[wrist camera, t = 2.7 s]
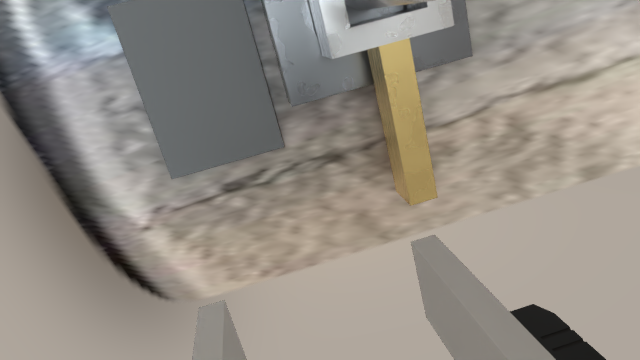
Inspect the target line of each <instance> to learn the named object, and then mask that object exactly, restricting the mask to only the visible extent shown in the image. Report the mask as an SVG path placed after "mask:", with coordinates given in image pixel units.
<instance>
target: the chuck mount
mask: <svg viewBox="0 0 640 360" xmlns="http://www.w3.org/2000/svg"><path fill="white" fill-rule="evenodd" d="M261 3H262V6H263V10H264V14H265V17H266V21H267V25H268V28H269V32H270V36H271V39H272V43H273V47H274V50H275V54H276V58H277V61H278V65H279V69H280V72H281V76H282V80H283V83H284V87H285V91H286V95H287V98H288V102H289V103H290V104H291V106H296V105H299V104H303V103H307V102H310V101H314V100H317V99H321V98H324V97H328V96H332V95H335V94H339V93H342V92H346V91H349V90H353V89H357V88H360V87H364V86H367V85H371V84H374V81H373V77H372V72H371V67H370V62H369V57H368V53H367V50H364V51H360V52H356V53H353V54H349V55H345V56H342V57H338V58H335V59H331V58H328V57H324V56H322V53H321V49H320V45H319V41H318V37H317V33H316V28H315V24H314V20H313V16H312V12H311V8H310V3H309V0H261ZM345 5H346V10H347V14H348V19H349V24H350V25H351V24H354V23H358V22H362V21H366V20H369V19H373V18H377V17H380V16H384V15H388V14H392V13H395V12H399V11H403V10H407V5H399V6H392V7H384V8H377V9H370V10H358V9H354V8H352V7H350V6H349V5H347V4H346V3H345ZM451 6H452V13H453V20H454V26H451V27H448V28H444V29H440V30H437V31H433V32H429V33H426V34H422V35H418V36H415V37H411V38H409V39H410V45H411V50H412V56H413V62H414V67H415V72H417V71H421V70H424V69H428V68H431V67H435V66H439V65H442V64H446V63H449V62H453V61H456V60H460V59H464V58H467V57H471V56H473V55H472V48H471V40H470V33H469V26H468V18H467V11H466V3H465V0H451Z"/></svg>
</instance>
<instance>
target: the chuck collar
mask: <svg viewBox="0 0 640 360" xmlns="http://www.w3.org/2000/svg"><path fill="white" fill-rule="evenodd" d="M309 3H310V8H311V12H312V16H313V20H314V24H315V28H316V33H317V37H318V41H319V45H320V49H321V53H322V56H324V57H328V58H331V59H335V58H338V57H342V56H345V55H349V54H353V53H356V52H360V51H364V50H367V53H368V57H369V62H370V67H371V72H372V77H373V81H374V86H375V91H376V96H377V101H378V106H379V110H380V115H381V120H382V125H383V130H384V134H385V139H386V144H387V149H388V154H389V158H390V163H391V168H392V173H393V178H394V182H395V187H396V191H397V192H398V193H399V194H400V195H401V196H402V197H403V198H404V199H405V201H406V202H407V203H408V204H409V205H410V206H411V205H414V204H418V203H421V202H424V201H428V200H431V199H434V198H437V191H436V186H435V180H434V174H433V169H432V163H431V157H430V152H429V146H428V141H427V135H426V129H425V124H424V118H423V112H422V107H421V101H420V96H419V90H418V84H417V79H416V73H415V67H414V62H413V56H412V50H411V45H410V39H409V38H411V37H415V36H418V35H422V34H426V33H429V32H433V31H437V30H440V29H444V28H448V27H451V26H454V20H453V13H452V6H451V0H436V1H428V2H421V3H414V4H406V5H407V10H403V11H399V12H395V13H392V14H388V15H384V16H380V17H377V18H373V19H369V20H366V21H362V22H358V23H354V24H351V25H350V24H349V19H348V14H347V10H346V5H345V1H344V0H309Z"/></svg>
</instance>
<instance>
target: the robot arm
mask: <svg viewBox="0 0 640 360" xmlns="http://www.w3.org/2000/svg"><path fill="white" fill-rule="evenodd" d="M411 246H412V250H413V255H414V260H415V265H416V270H417V275H418V280H419V284H420V289H421V294H422V299H423V304H424V309H425V314H426V318H427V319H428V321H429V322H430V323H431V325H432V326H433V328H434V329H435V331H436V333H437V334H438V336H439V337H440V339H441V340H442V342H443V343H444V345H445V346H446V348H447V349H448V351H449V352H450V354H451V355H452V357H453V358H454V360H606V359H605V358H604V357H603V356H602V355H600V354H599V353H598V352H597V351H596V350H595V349H594V348H593V347H591V346H590V345H589V344H588V343H587V342H584V341H583V339H582V338H581V337H580V336H579V335H578V334H577V333H576V332H575V331H573V330H571V329H570V327H569V326H568V325H567V324H566V323H564V322H563V321H562V320H561V319H560V318H559V317H558V316H557V315H556V314H554V313H552V312H550V311H548V310H545V309H543V308H541V307H539V306H536V305H534V304H532V305H529V306H526V307H523V308H520V309H517V310H514V311H511V312H509V311H508V310H507V309H506V308H505V307H504V306H503V305H502V304H501V303H500V302H499V300H498V299H497V298H495V296H494V295H493V294H492V293H491V292H490V291H489V290H488V289H487V288H486V287H485V286H484V285H483V284H482V283H481V282H480V281H479V280H478V279H477V278H476V277H475V276H474V275H473V274H472V273H471V272H470V271H469V270H468V268H467V267H466V266H465V265H464V264H463V263H462V262H461V261H460V260H459V259H458V258H457V257H456V256H455V255H454V254H453V253H452V252H451V251H450V250H449V249H448V248H447V247H446V246H445V245H444V244H443V243H442V242H441V241H440V240H439V239H438V238H437V237H436V236H435V235H432V236H428V237H426V238H422V239H419V240H416V241H413V242H411ZM192 360H247V359H246V356H245V354H244V351H243V348H242V346H241V343H240V340H239V338H238V335H237V332H236V329H235V327H234V324H233V321H232V319H231V316H230V313H229V310H228V308H227V305H226V302H225V300H222V301H219V302H216V303H213V304H210V305H206V306H203V307H200V308H199V311H198V318H197V326H196V334H195V342H194V349H193V357H192Z"/></svg>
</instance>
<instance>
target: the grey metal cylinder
mask: <svg viewBox="0 0 640 360" xmlns="http://www.w3.org/2000/svg"><path fill="white" fill-rule="evenodd" d="M344 1H345V3H346V4H347V5H349V6H350V7H352V8H354V9H358V10H370V9H377V8H384V7H392V6H399V5H406V4H414V3H421V2H428V1H436V0H344Z"/></svg>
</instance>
